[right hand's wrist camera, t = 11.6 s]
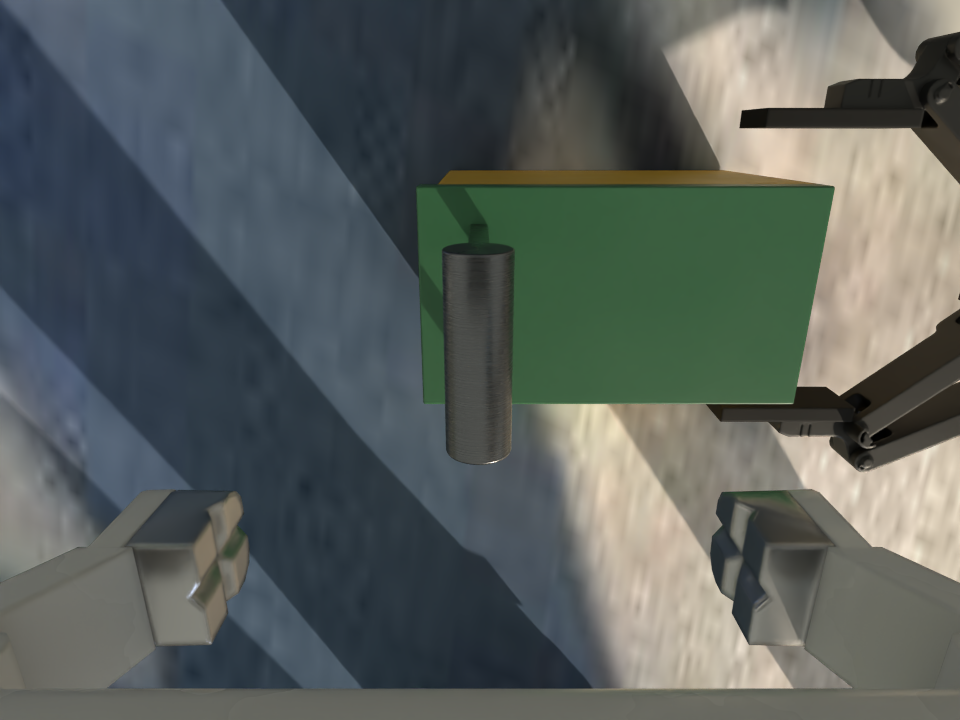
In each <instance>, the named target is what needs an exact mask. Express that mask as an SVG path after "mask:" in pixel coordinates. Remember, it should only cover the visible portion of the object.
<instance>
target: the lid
mask: <svg viewBox="0 0 960 720" xmlns="http://www.w3.org/2000/svg"><path fill="white" fill-rule="evenodd" d="M834 189H835V187H834V186H829V185H822V184H420V185H418V186H417V187H416V205H417V233H418V261H419V290H420V318H421V347H422V375H423V402H424V404H445V421H446V450H447V453H448V454H449V456H450V457H452V458H453V459H455V460H457V461H459V462H462V463H466V464H473V465H484V464H491V463H495V462H498V461H501V460H503V459H504V458H506V457H507V456H508V455H509V453H510V451H511V426H512V404H793V403H794V398H795V393H796V388H797V382H798V377H799V372H800V367H801V361H802V356H803V351H804V346H805V341H806V335H807V330H808V325H809V320H810V315H811V309H812V304H813V299H814V294H815V288H816V283H817V278H818V273H819V268H820V262H821V257H822V252H823V247H824V242H825V236H826V231H827V226H828V221H829V215H830V210H831V205H832V200H833V195H834Z"/></svg>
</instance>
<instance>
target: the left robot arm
mask: <svg viewBox="0 0 960 720" xmlns="http://www.w3.org/2000/svg"><path fill="white" fill-rule="evenodd" d="M915 58H916V62H917V63H916V65H915V66H914V68H913V70H912V71H911V73H910V74H909V75H908V76H907V77H905V78H904V79H855V80H848V81H842V82H838V83H836V84H833V85H831V86H828V89H827V95H826V100H825V106H824V108H763V109H753V110H743V111H742V114H741V121H740V128H911V129H912V130H913V131H914V132H915V134H916V135H917V136H918V137H919V138H920V139H921V140H922V142H923V143H924V144H925V145H926V146H927V147H928V148H929V150H930V151H931V152H932V153H933V154H934V155H935V156H936V158H937V159H938V160H939V161H940V162H941V163H942V164H943V166H944V167H945V168H946V169H947V170H948V171H949V172H950V174H951V175H952V176H953V177H954V178H955V179H956V180H957V182H958V183H959V184H960V32H957V33H952V34H948V35H943V36H939V37H934V38H929V39H927V40H925V41H923V42H922V43H921V44H920V46H919V47H918V49H917V51H916V57H915ZM958 300H960V294H959V298H958ZM936 330H937V331H936V332H935V333H934V334H933V335H931V336H930V337H928V338H927V339H925V340H924V341H922V342H921V343H919V344H918V345H916V346H915V347H913V348H912V349H910V350H909V351H907V352H905V353H904V354H902V355H901V356H899V357H898V358H896V359H895V360H893V361H892V362H890V363H889V364H887V365H886V366H884V367H883V368H881V369H880V370H878V371H877V372H875V373H874V374H872V375H871V376H869V377H868V378H866V379H865V380H863V381H862V382H860V383H859V384H857V385H856V386H854V387H853V388H851V389H850V390H848V391H847V392H845V393H844V394H842V395H841V396H838V395H837V394H835V393H834V392H832V391H831V390H830V389H828V388H827V387H797V388H796V393H795V398H794V403H793V404H706V405H707V406H708V407H709V408H710V410H711V411H712V412H713V413H714V414H715V416H716V417H717V418H718V419H719V420H720V421H721V422H769V423H770V424H771V425H772V426H773V427H774V428H775V429H776V430H777V431H778V432H779V433H781V434H783V435H786V436H788V437H799V436H801V437H807V436H809V437H831V438H830V440H829V443H830V446H831V447H832V448H833V449H834V450H835V451H836V452H837V453H838V454H839V455H841V456H842V457H843V458H844V459H845V460H846V461H847V462H848V463H850V464H851V465H852V466H853V467H854V468H855V469H856V470H858V471H860V472H869V471H872V470H874V469H877V468H879V467H882V466H884V465H887V464H889V463H892V462H894V461H897V460H900V459H902V458H905V457H907V456H910V455H912V454H915V453H917V452H920V451H923V450H925V449H928V448H930V447H933V446H935V445H938V444H940V443H943V442H945V441H948V440H951V439H953V438H956V437H958V436H960V382H958V383H956V382H957V381H959V380H960V309H959V310H958V311H956V312H955V313H953V314H952V315H950V316H949V317H947V318H946V319H944V320H943V321H941V322H940V323H939V324H938V325H937V326H936ZM954 383H956V384H954ZM952 384H953V385H952Z"/></svg>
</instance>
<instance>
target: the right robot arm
mask: <svg viewBox="0 0 960 720" xmlns="http://www.w3.org/2000/svg"><path fill="white" fill-rule="evenodd" d="M243 515H244V510H243V505H242V500H241V496H240V495H239V494H238V493H237V492H236V491H208V490H147V491H142V492H141V493H140V494H139V495H138V496H137V497H136V498H135V499H134V500H133V501H132V502H131V503H130V504H129V505H128V506H127V507H126V508H125V509H124V510H123V511H122V512H121V513H120V514H119V515H118V517H117V518H116V519H115V520H114V521H113V522H112V523H111V524H110V525H109V526H108V527H107V528H106V529H105V530H104V531H103V532H102V533H101V534H100V535H99V536H98V537H97V538H96V539H95V540H94V541H93V542H92V543H91V544H90V546H89V547H77V548H75V549H73V550H71V551H69V552H66V553H64V554H62V555H60V556H58V557H56V558H53V559H51V560H49V561H47V562H45V563H42V564H40V565H38V566H36V567H34V568H32V569H29V570H27V571H25V572H23V573H21V574H19V575H16V576H14V577H12V578H10V579H8V580H5V581H3V582H1V583H0V720H960V583H959V582H956V581H954V580H952V579H950V578H948V577H946V576H943V575H941V574H939V573H937V572H935V571H933V570H930V569H928V568H926V567H924V566H922V565H920V564H917V563H915V562H913V561H911V560H909V559H907V558H904V557H902V556H900V555H898V554H896V553H894V552H891V551H889V550H887V549H885V548H883V547H872V546H871V545H870V544H869V543H868V542H867V541H866V540H865V539H864V538H863V537H862V536H861V535H860V534H859V533H858V532H857V531H856V530H855V529H854V528H853V527H852V526H851V525H850V524H849V523H848V522H847V521H846V520H845V518H844V517H843V516H842V515H841V514H840V513H839V512H838V511H837V510H836V509H835V508H834V507H833V506H832V505H831V504H830V503H829V502H828V501H827V500H826V499H825V498H824V497H823V496H822V495H821V494H820V493H819V492H817V491H815V490H812V489H805V490H782V491H743V492H722V493H721V495H720V497H719V500H718V504H717V510H716V515H717V516H718V518H719V520H720V521H721V523H722V524H723V526H722V527H721V528H720V529H719V530H718V531H717V532H716V533H715V534H714V535H713V536H712V543H711V552H710V555H711V565H712V572H713V575H714V578H715V581H716V584H717V586H718V587H719V589H720V591H721V593H722V594H724V595H725V596H727V597H728V598H730V599H731V600H733V601H734V603H733V609H732V614H733V616H734V618H735V620H736V622H737V624H738V625H739V627H740V629H741V631H742V633H743V635H744V637H745V638H746V640H747V642H748V644H749V645H774V646H805V648H804V649H805V650H806V651H808V652H809V653H810V654H811V655H813V656H814V657H815V658H816V659H818V660H819V661H820V662H821V663H823V664H824V665H825V666H826V667H828V668H829V669H830V670H831V671H833V672H834V673H835V674H836V675H838V676H839V677H840V678H841V679H843V680H844V681H845V682H846V683H848V684H849V685H850V686H851V687H853V688H854V689H106V688H108V687H109V686H110V685H111V684H113V683H114V682H115V681H116V680H118V679H119V678H120V677H121V676H123V675H124V674H125V673H126V672H128V671H129V670H130V669H131V668H133V667H134V666H135V665H136V664H138V663H139V662H140V661H141V660H143V659H144V658H145V657H146V656H148V655H149V654H150V653H151V652H153V651H154V650H155V646H185V645H211V644H212V642H213V640H214V638H215V637H216V635H217V633H218V631H219V629H220V627H221V625H222V624H223V622H224V620H225V618H226V616H227V614H228V609H227V603H226V601H228V600H229V599H230V598H232V597H233V596H235V595H236V594H238V593H239V591H240V589H241V587H242V585H243V583H244V581H245V579H246V574H247V570H248V566H249V542H248V536H247V535H246V534H245V533H244V532H243V531H242V530H241V529H240V528H239V527H238V526H237V524H238V523H239V521H240V520H241V518H242V516H243Z"/></svg>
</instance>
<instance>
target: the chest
mask: <svg viewBox="0 0 960 720" xmlns="http://www.w3.org/2000/svg"><path fill="white" fill-rule="evenodd" d="M438 184H815V183H808V182H801V181H794V180H787V179H780V178H773V177H766V176H759V175H752V174H745V173H738V172H731V171H724V170H451V171H449V172H448V173H447V175H446V176H445V177H444V178H443V179H442V180H441V181H440V182H439V183H438Z"/></svg>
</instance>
